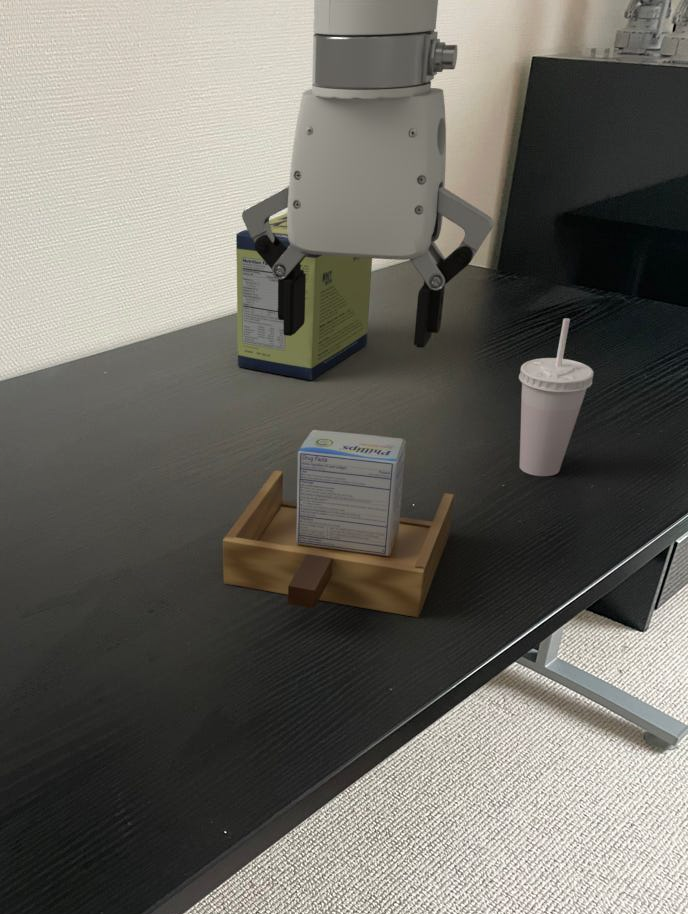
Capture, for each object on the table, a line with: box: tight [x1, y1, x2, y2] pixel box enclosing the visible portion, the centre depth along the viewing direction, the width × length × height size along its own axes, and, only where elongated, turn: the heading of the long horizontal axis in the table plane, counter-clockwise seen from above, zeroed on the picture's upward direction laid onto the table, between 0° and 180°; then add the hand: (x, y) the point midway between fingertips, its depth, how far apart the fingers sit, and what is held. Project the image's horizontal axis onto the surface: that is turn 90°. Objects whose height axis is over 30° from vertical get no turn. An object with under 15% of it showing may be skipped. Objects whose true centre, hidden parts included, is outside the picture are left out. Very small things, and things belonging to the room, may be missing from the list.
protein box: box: [235, 212, 373, 381], centre depth 118 cm, size 10×16×16 cm
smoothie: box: [518, 317, 594, 477], centre depth 90 cm, size 6×6×14 cm
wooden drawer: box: [222, 470, 455, 618], centre depth 78 cm, size 16×18×4 cm
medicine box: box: [296, 429, 407, 556], centre depth 79 cm, size 8×4×9 cm, turn 71°
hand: (357, 335), depth 72 cm, fingers open, 9 cm apart
